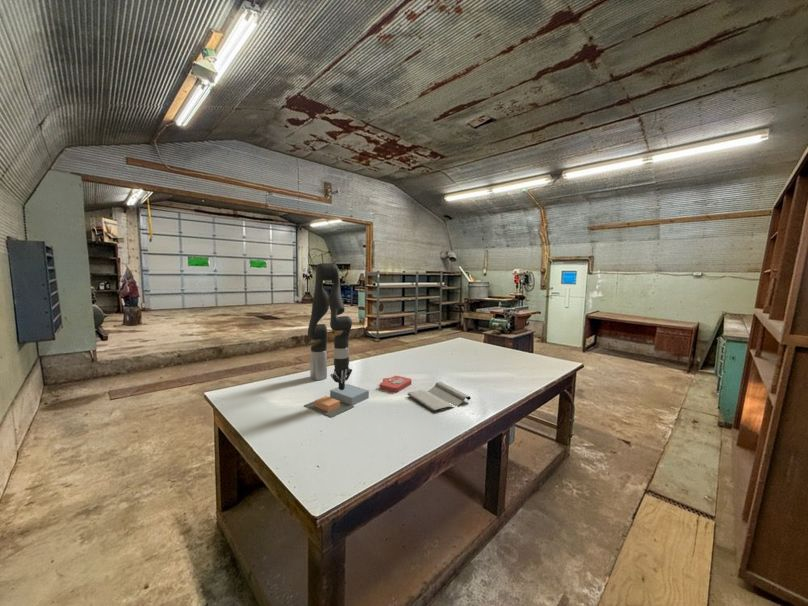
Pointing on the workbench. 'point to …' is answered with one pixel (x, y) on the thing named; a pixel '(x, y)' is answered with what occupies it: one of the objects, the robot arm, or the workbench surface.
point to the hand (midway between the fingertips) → (341, 389)
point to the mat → (439, 397)
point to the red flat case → (395, 384)
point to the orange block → (327, 403)
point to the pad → (334, 412)
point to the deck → (349, 394)
